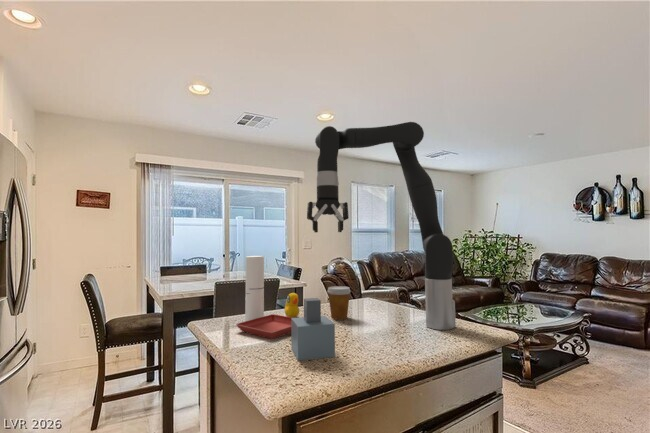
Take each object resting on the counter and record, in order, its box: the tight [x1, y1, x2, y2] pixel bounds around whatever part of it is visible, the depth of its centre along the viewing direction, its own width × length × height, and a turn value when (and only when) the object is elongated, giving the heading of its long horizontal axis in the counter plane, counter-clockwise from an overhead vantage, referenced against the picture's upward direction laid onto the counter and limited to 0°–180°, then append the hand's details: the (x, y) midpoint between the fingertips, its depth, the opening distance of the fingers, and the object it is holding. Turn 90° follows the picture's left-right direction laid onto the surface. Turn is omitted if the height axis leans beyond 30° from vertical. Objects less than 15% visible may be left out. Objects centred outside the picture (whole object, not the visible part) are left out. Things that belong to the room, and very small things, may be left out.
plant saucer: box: [235, 313, 291, 340], centre depth 122 cm, size 18×18×3 cm
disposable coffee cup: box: [326, 285, 352, 321], centre depth 140 cm, size 10×10×12 cm
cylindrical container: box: [244, 255, 265, 321], centre depth 138 cm, size 7×7×25 cm
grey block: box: [290, 297, 336, 361], centre depth 98 cm, size 10×10×15 cm
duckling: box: [284, 292, 300, 318], centre depth 141 cm, size 11×5×10 cm, turn 21°
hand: (328, 232), depth 120 cm, fingers open, 8 cm apart
